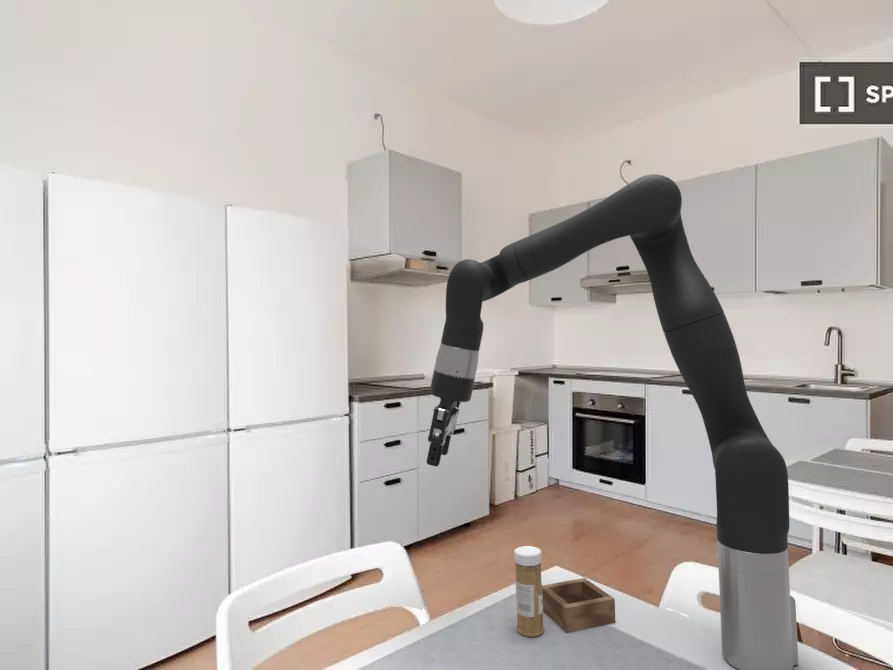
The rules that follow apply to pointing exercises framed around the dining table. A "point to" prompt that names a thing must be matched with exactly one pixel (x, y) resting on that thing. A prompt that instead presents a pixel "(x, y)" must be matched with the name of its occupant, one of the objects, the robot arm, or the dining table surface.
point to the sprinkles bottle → (529, 591)
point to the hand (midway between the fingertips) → (437, 459)
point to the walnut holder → (578, 605)
